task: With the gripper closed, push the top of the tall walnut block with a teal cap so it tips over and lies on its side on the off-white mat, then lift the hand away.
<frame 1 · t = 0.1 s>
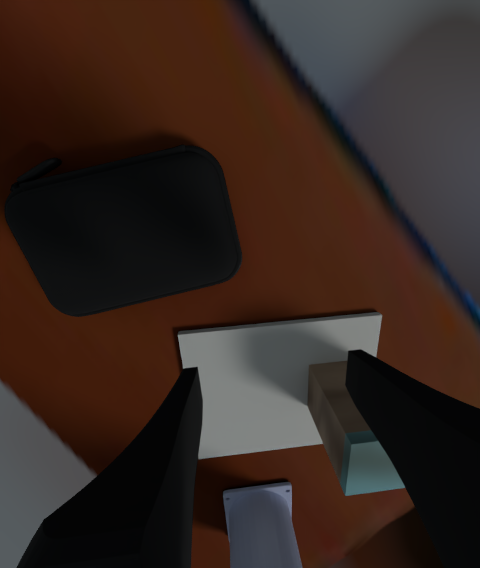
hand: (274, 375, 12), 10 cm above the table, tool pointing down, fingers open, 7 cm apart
carrying case or bag: (136, 227, 19), on the table
walnut block: (333, 383, 25), point 1 cm above the table, touching mat
mat: (281, 388, 25), on the table
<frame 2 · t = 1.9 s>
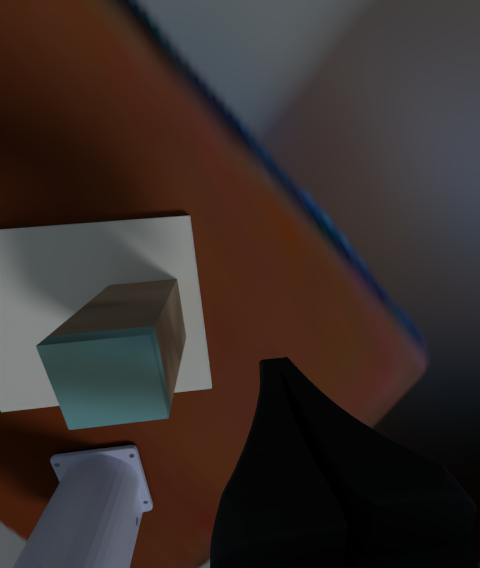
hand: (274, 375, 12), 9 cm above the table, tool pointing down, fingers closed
walnut block: (149, 312, 20), point 1 cm above the table, touching mat
mat: (89, 320, 20), on the table
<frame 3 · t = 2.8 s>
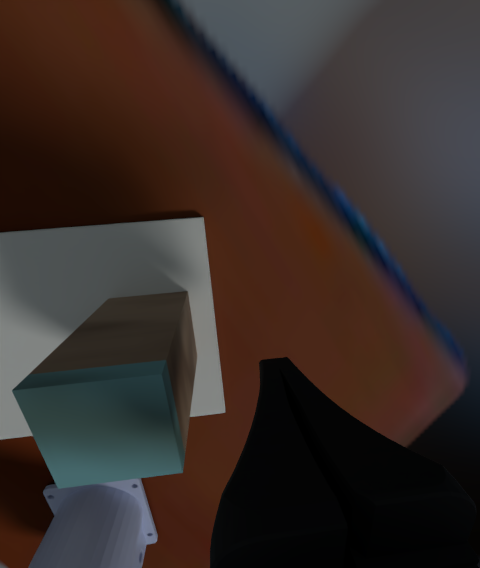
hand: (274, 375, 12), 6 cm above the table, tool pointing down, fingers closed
walnut block: (155, 329, 17), point 1 cm above the table, touching mat
mat: (85, 338, 17), on the table
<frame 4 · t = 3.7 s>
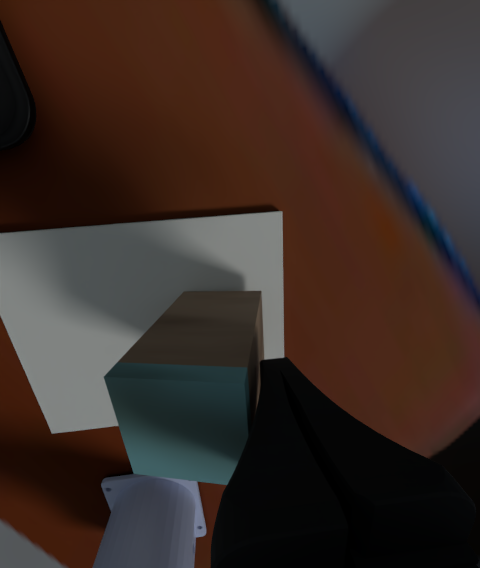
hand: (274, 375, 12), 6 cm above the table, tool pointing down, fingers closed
walnut block: (225, 326, 17), point 1 cm above the table, tilted 13°, touching mat
mat: (155, 331, 18), on the table
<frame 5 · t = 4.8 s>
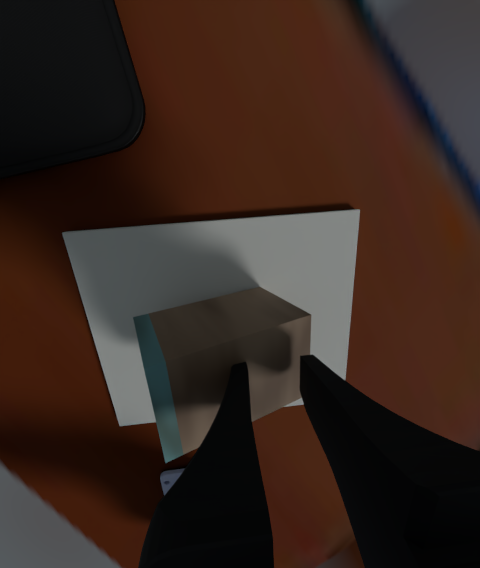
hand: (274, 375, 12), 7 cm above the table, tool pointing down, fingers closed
walnut block: (282, 336, 16), point 3 cm above the table, tilted 68°, touching gripper, mat
mat: (226, 326, 18), on the table
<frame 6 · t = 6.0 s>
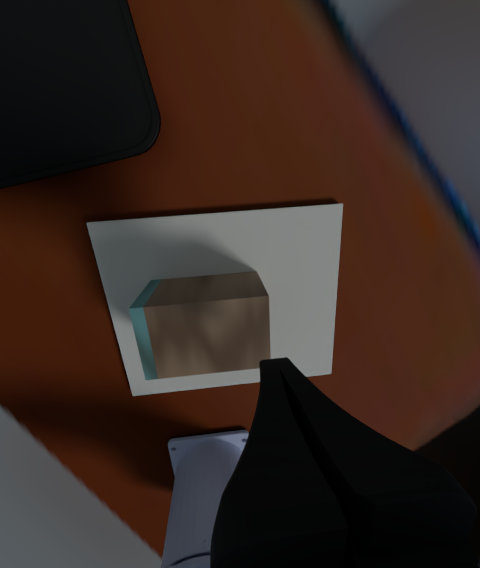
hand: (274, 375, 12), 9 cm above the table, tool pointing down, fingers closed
carrying case or bag: (29, 84, 15), on the table
walnut block: (263, 315, 18), point 3 cm above the table, tilted 90°, touching mat
mat: (226, 306, 21), on the table
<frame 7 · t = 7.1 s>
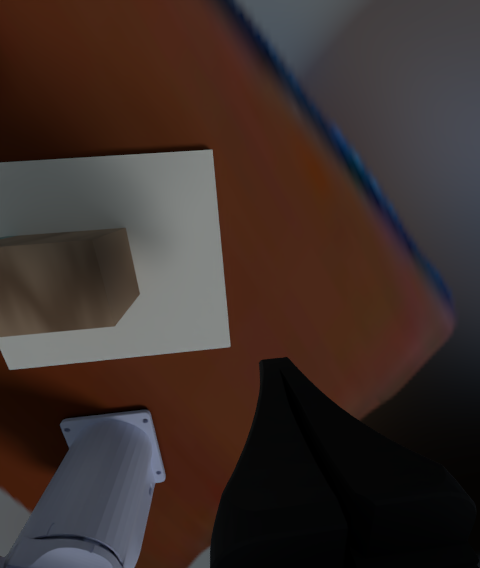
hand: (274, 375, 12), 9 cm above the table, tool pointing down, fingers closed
walnut block: (120, 272, 16), point 3 cm above the table, tilted 90°, touching mat
mat: (103, 269, 19), on the table
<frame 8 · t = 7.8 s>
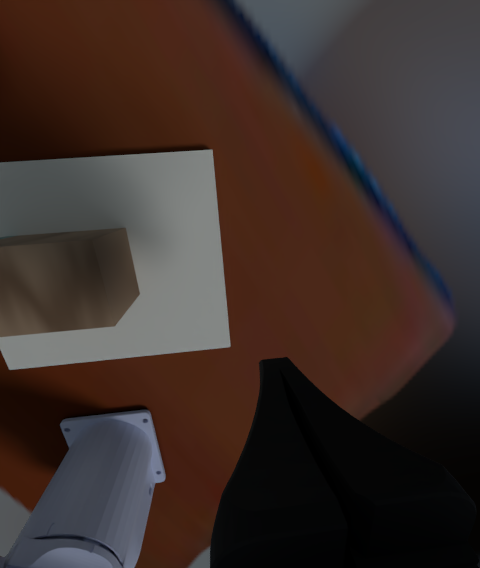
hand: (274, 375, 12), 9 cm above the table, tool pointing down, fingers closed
walnut block: (120, 272, 16), point 3 cm above the table, tilted 90°, touching mat
mat: (103, 269, 19), on the table
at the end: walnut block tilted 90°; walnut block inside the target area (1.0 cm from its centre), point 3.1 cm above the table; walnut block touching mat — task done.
